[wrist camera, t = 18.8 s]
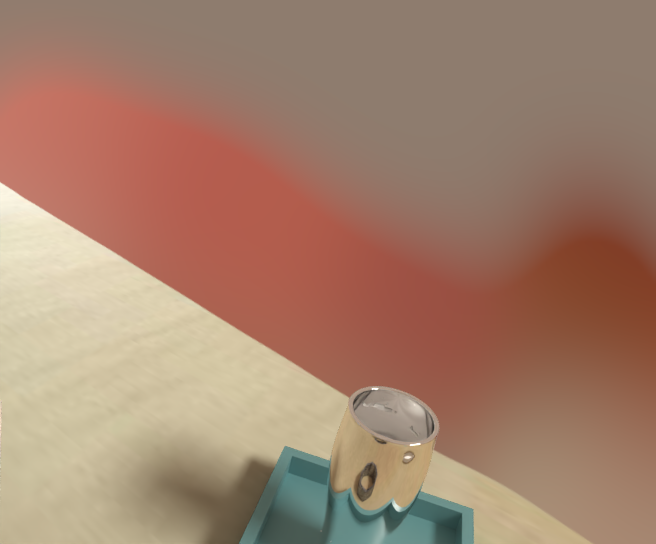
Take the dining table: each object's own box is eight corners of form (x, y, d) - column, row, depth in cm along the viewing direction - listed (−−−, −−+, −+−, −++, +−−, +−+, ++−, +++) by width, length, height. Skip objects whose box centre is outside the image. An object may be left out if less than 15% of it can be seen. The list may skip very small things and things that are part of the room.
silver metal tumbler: (343, 519, 52) (387, 375, 46) (405, 577, 47) (461, 425, 42) (284, 556, 47) (325, 400, 41) (346, 624, 43) (401, 460, 37)
